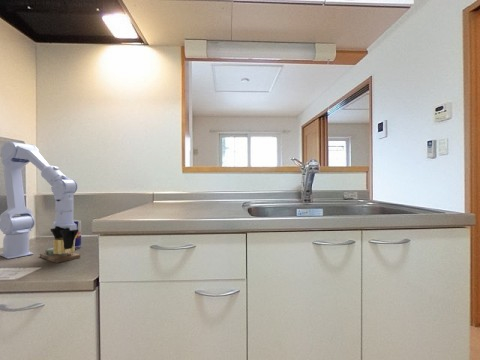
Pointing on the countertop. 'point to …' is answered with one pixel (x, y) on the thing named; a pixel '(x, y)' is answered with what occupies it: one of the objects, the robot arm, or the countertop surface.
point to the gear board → (58, 256)
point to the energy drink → (78, 234)
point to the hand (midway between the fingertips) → (64, 247)
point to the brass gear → (61, 246)
